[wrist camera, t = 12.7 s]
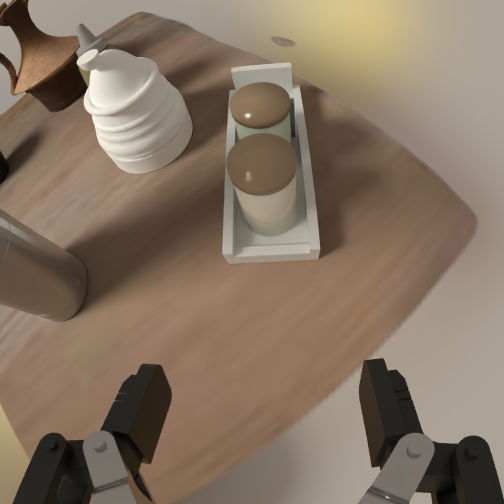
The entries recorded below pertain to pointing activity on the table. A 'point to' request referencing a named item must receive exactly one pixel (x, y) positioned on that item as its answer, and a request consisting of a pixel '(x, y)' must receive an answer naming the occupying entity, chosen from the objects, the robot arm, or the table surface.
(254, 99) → the sage jar
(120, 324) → the table surface
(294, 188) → the cream jar
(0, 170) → the mug
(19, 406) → the table surface
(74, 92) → the pitcher
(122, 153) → the honey pot
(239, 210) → the jar lane
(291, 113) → the pusher
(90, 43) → the squeeze bottle
